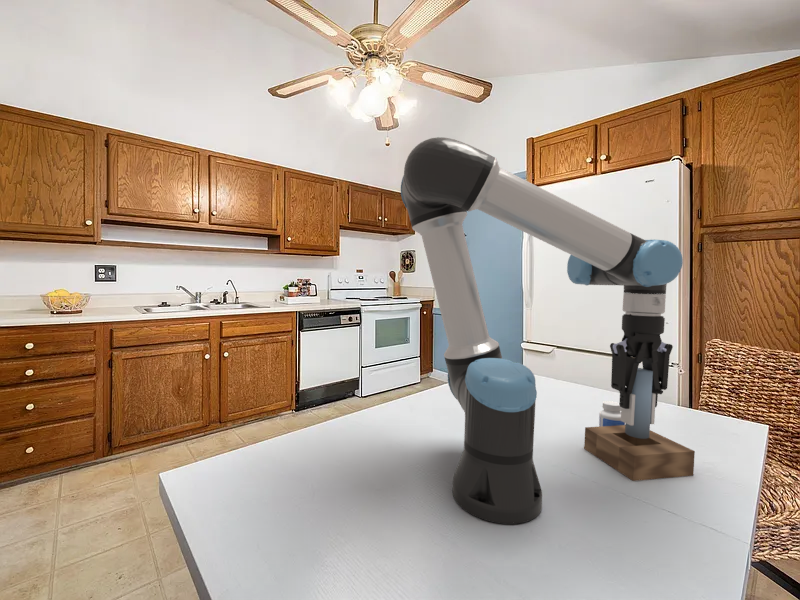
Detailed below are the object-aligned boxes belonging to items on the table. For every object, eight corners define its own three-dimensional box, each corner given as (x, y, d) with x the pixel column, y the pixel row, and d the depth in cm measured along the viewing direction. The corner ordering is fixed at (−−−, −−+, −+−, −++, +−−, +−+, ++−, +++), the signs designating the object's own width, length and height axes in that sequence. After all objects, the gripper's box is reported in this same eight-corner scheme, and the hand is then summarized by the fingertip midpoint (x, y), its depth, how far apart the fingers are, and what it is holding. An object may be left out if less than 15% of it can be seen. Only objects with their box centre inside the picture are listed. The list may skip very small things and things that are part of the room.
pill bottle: (630, 447, 87) (630, 406, 87) (609, 448, 86) (609, 406, 86) (613, 438, 93) (614, 399, 93) (594, 439, 92) (594, 400, 92)
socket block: (633, 480, 71) (634, 455, 71) (584, 448, 85) (585, 427, 85) (693, 475, 74) (694, 451, 74) (636, 444, 88) (637, 424, 88)
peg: (636, 439, 77) (640, 372, 76) (620, 430, 81) (623, 367, 80) (654, 438, 78) (658, 372, 77) (637, 429, 82) (640, 367, 81)
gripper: (621, 315, 73) (615, 431, 74) (694, 315, 76) (687, 427, 77) (594, 312, 80) (589, 418, 81) (662, 312, 83) (656, 414, 85)
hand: (637, 422), depth 79 cm, fingers closed on peg, 4 cm apart
